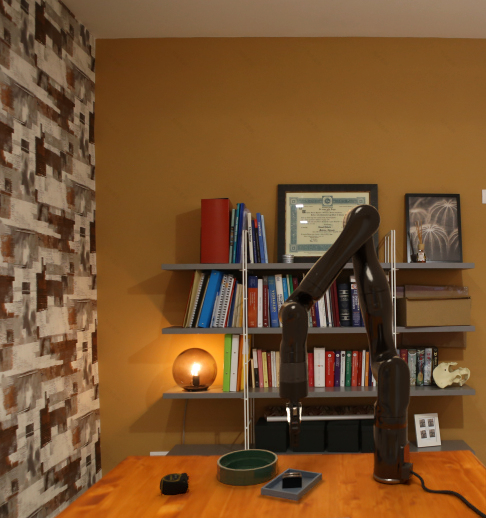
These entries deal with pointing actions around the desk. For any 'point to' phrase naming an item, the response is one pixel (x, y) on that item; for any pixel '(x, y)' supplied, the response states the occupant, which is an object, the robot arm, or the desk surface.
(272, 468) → the bowl
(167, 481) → the tape measure
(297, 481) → the clip
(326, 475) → the desk surface
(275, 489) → the tray
